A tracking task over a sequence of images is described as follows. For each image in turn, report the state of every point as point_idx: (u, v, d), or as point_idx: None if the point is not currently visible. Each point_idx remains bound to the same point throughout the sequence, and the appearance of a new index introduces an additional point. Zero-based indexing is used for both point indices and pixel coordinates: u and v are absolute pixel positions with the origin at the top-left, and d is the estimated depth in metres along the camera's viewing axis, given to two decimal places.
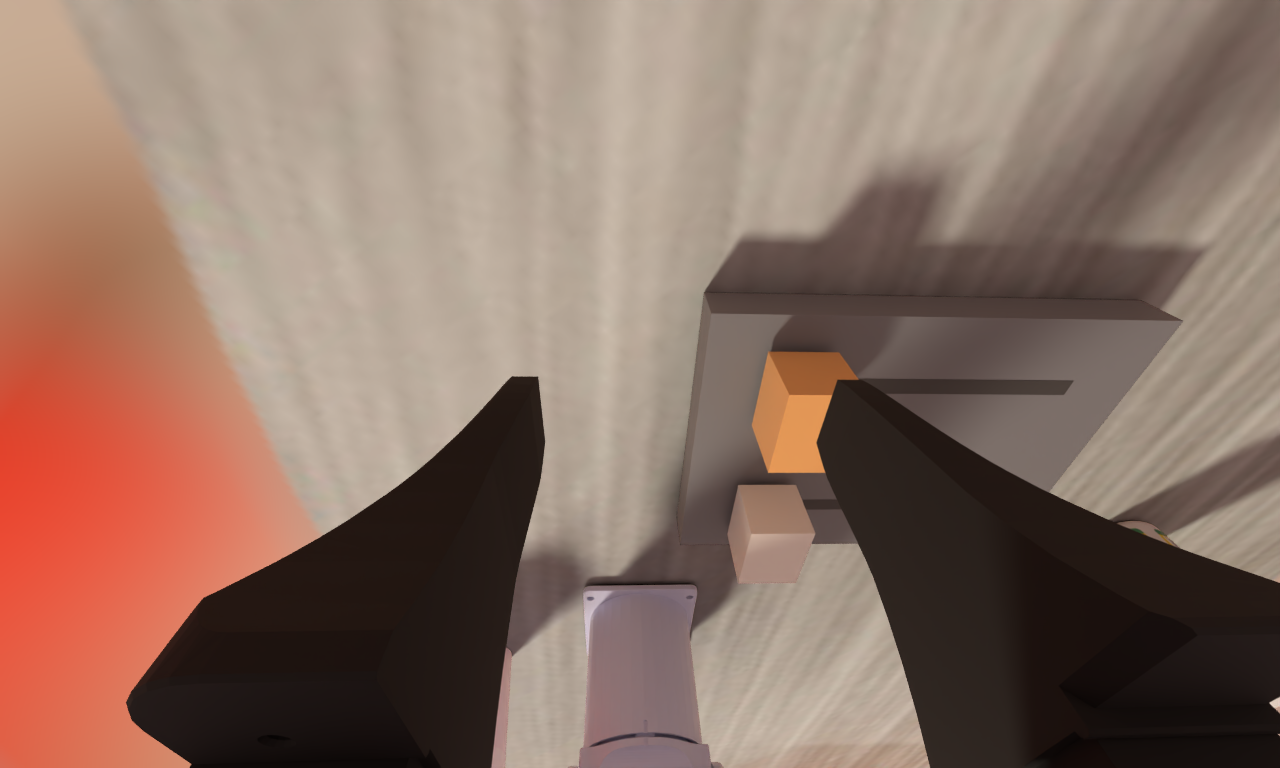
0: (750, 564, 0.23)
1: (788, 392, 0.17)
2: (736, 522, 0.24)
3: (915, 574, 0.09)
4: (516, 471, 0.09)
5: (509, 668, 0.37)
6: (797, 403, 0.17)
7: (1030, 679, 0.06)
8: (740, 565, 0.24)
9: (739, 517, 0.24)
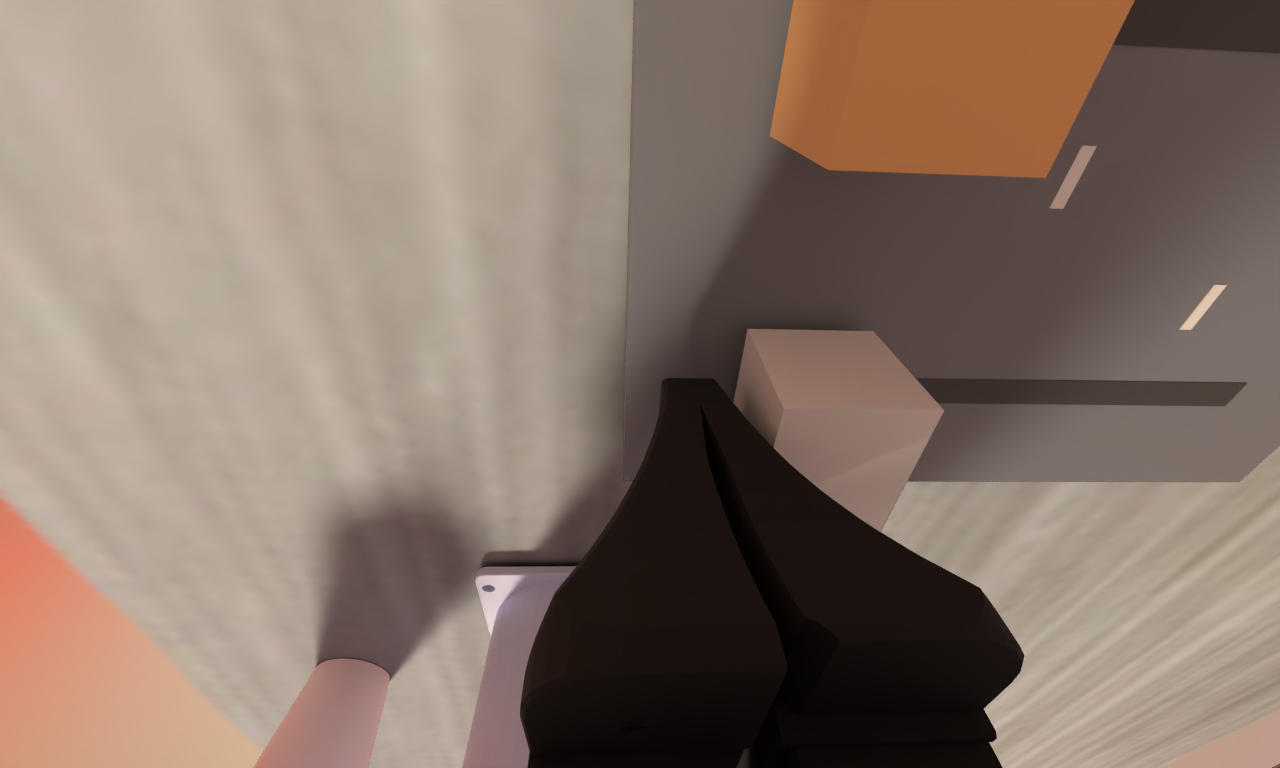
0: None
1: None
2: (743, 414, 0.11)
3: None
4: None
5: (379, 699, 0.24)
6: None
7: None
8: None
9: (750, 397, 0.11)
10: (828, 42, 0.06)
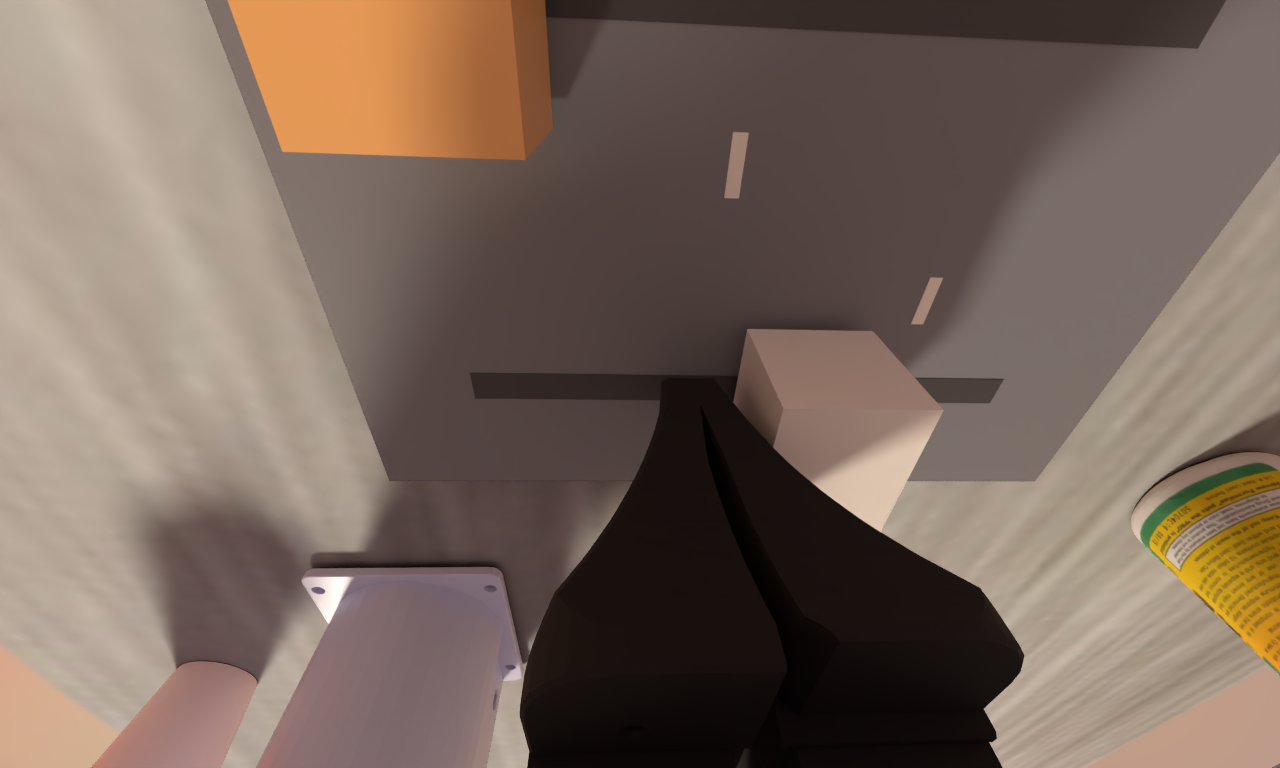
0: None
1: None
2: None
3: None
4: None
5: (237, 702, 0.24)
6: None
7: None
8: None
9: (750, 397, 0.11)
10: None
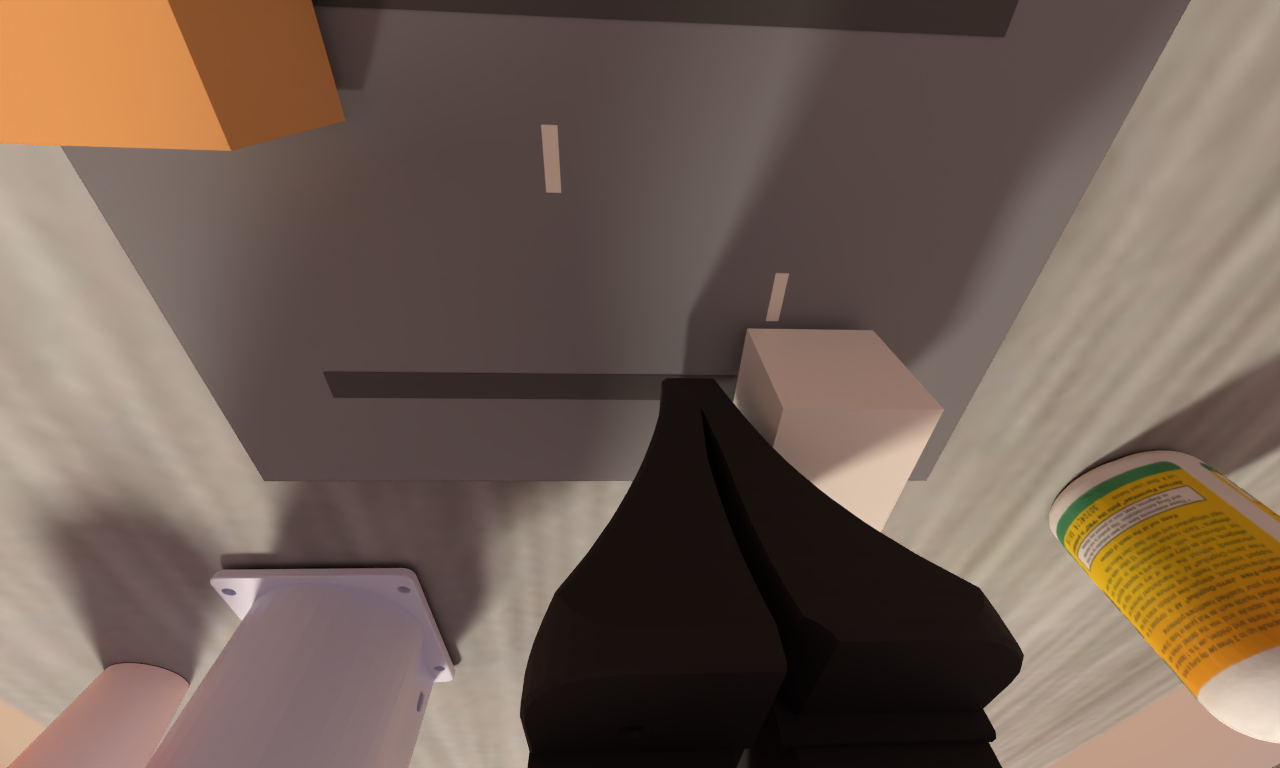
0: None
1: None
2: (743, 414, 0.11)
3: None
4: None
5: (163, 704, 0.23)
6: None
7: None
8: None
9: (750, 397, 0.11)
10: None
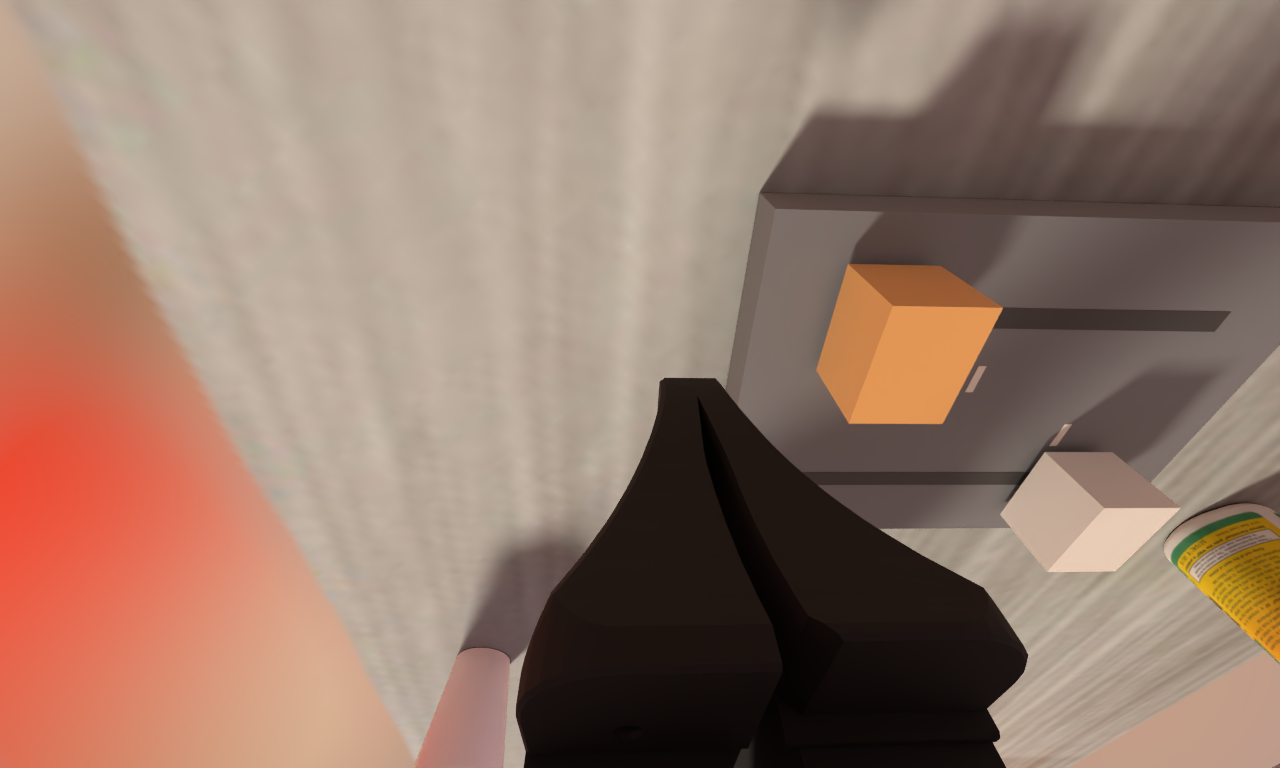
0: (1077, 548, 0.19)
1: (890, 303, 0.12)
2: (1038, 498, 0.20)
3: None
4: None
5: (507, 677, 0.32)
6: (901, 319, 0.13)
7: None
8: (1056, 549, 0.19)
9: (1050, 491, 0.20)
10: (848, 368, 0.15)
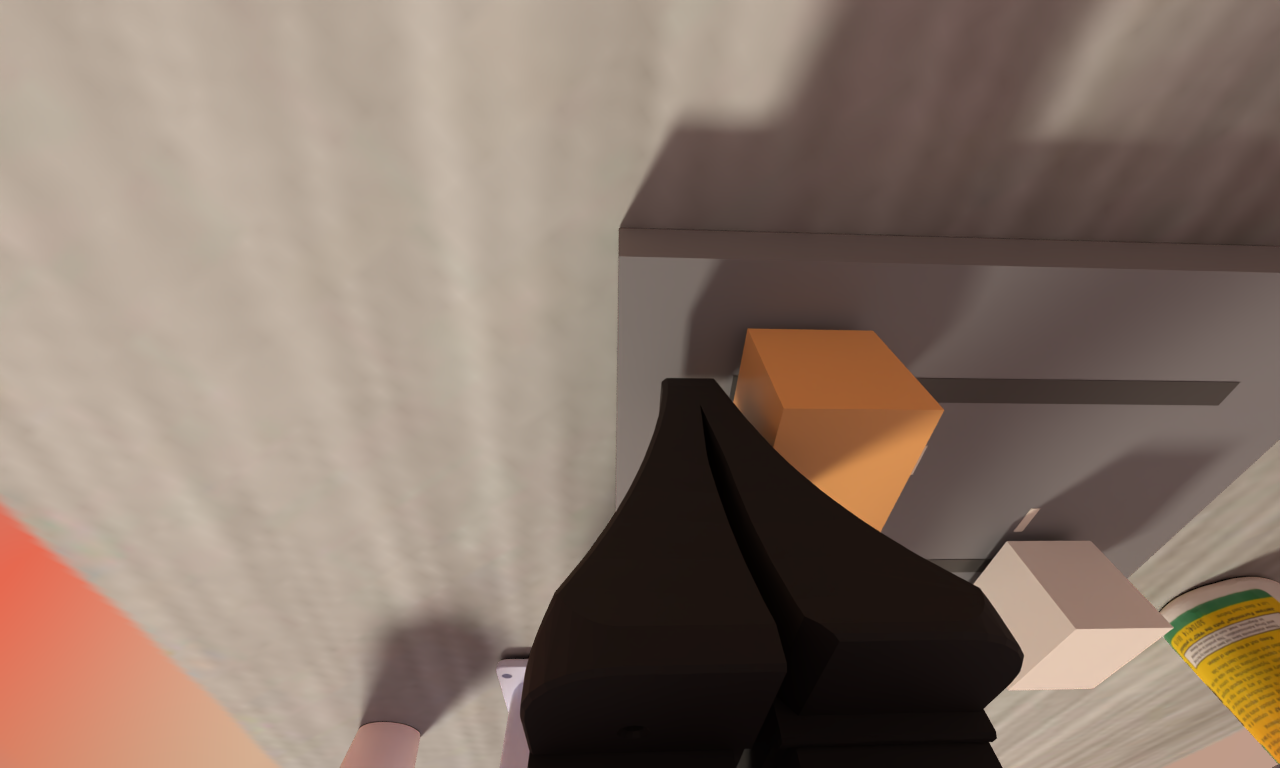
0: (1044, 667, 0.15)
1: (781, 402, 0.09)
2: (999, 596, 0.16)
3: None
4: None
5: (412, 756, 0.29)
6: (798, 425, 0.09)
7: None
8: None
9: (1013, 591, 0.16)
10: None
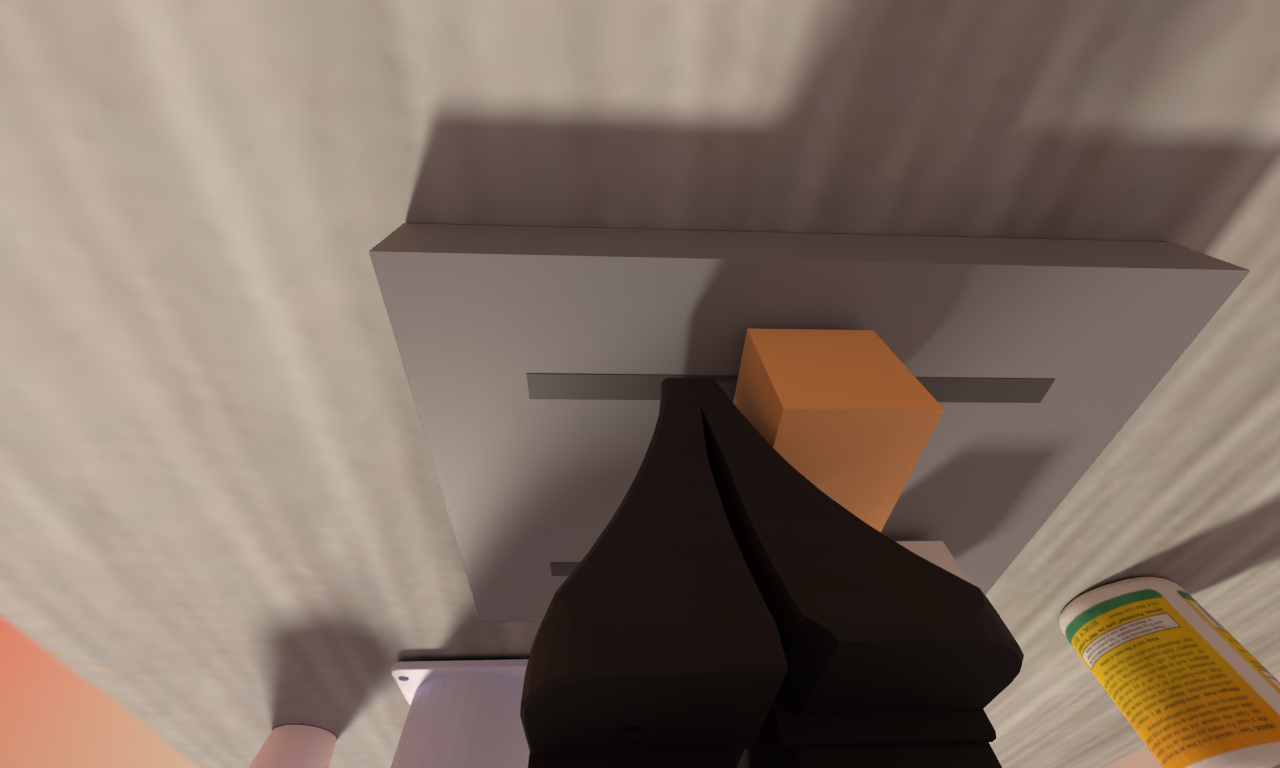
0: None
1: (781, 403, 0.09)
2: None
3: None
4: None
5: (324, 759, 0.28)
6: (799, 425, 0.09)
7: None
8: None
9: None
10: None
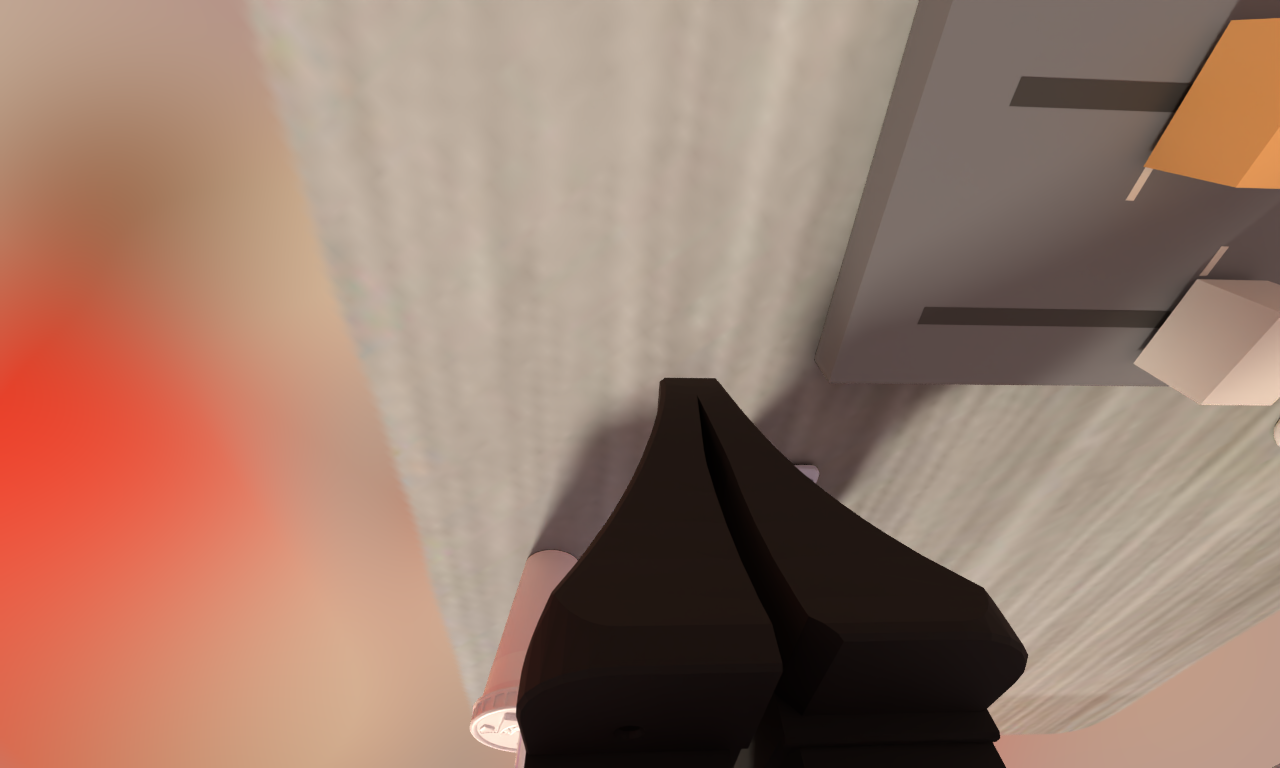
0: (1240, 370, 0.18)
1: None
2: (1188, 330, 0.19)
3: None
4: None
5: None
6: None
7: None
8: (1213, 377, 0.18)
9: (1205, 318, 0.19)
10: (1234, 129, 0.14)
